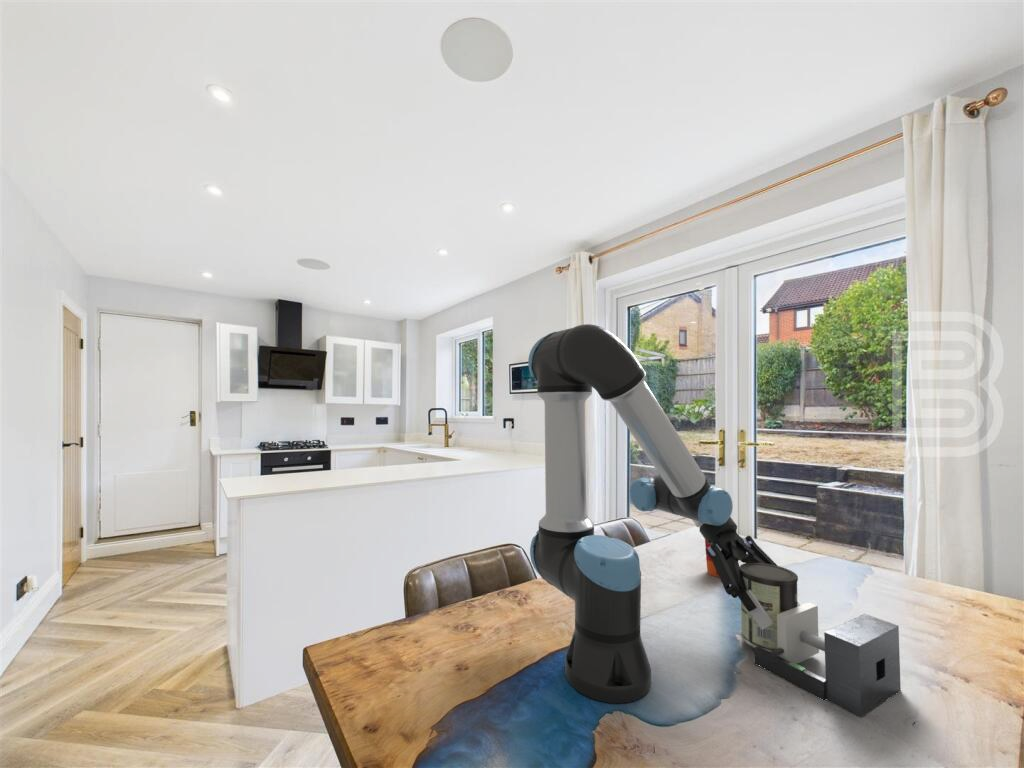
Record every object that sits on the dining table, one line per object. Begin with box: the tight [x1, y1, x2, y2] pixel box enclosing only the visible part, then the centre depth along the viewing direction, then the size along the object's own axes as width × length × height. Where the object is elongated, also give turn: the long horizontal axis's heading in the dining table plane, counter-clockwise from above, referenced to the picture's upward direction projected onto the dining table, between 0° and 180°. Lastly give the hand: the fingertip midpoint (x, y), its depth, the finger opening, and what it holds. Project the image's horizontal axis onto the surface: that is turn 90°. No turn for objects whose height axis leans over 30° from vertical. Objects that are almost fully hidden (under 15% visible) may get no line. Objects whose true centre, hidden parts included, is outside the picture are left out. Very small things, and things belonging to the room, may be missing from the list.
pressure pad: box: [771, 602, 825, 664], centre depth 80 cm, size 11×14×9 cm
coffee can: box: [739, 563, 799, 652], centre depth 90 cm, size 10×10×14 cm
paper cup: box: [704, 539, 720, 578], centre depth 130 cm, size 8×8×14 cm
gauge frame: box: [753, 613, 902, 719], centre depth 81 cm, size 17×15×11 cm
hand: (783, 620), depth 88 cm, fingers closed on coffee can, 10 cm apart
